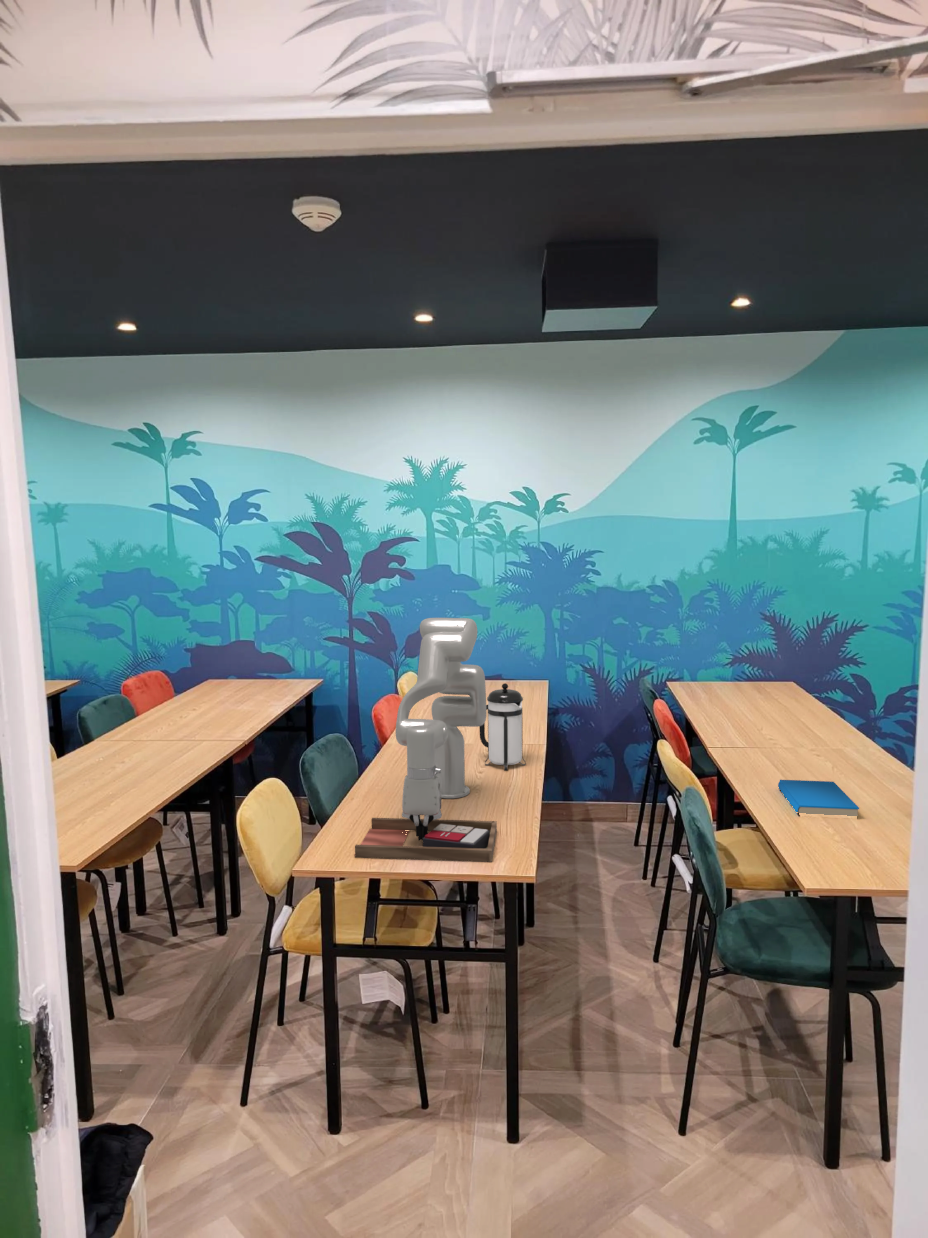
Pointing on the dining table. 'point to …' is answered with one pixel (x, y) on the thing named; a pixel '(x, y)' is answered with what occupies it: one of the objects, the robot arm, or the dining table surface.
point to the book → (817, 797)
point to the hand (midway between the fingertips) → (422, 838)
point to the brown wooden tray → (390, 840)
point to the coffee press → (504, 727)
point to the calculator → (457, 837)
